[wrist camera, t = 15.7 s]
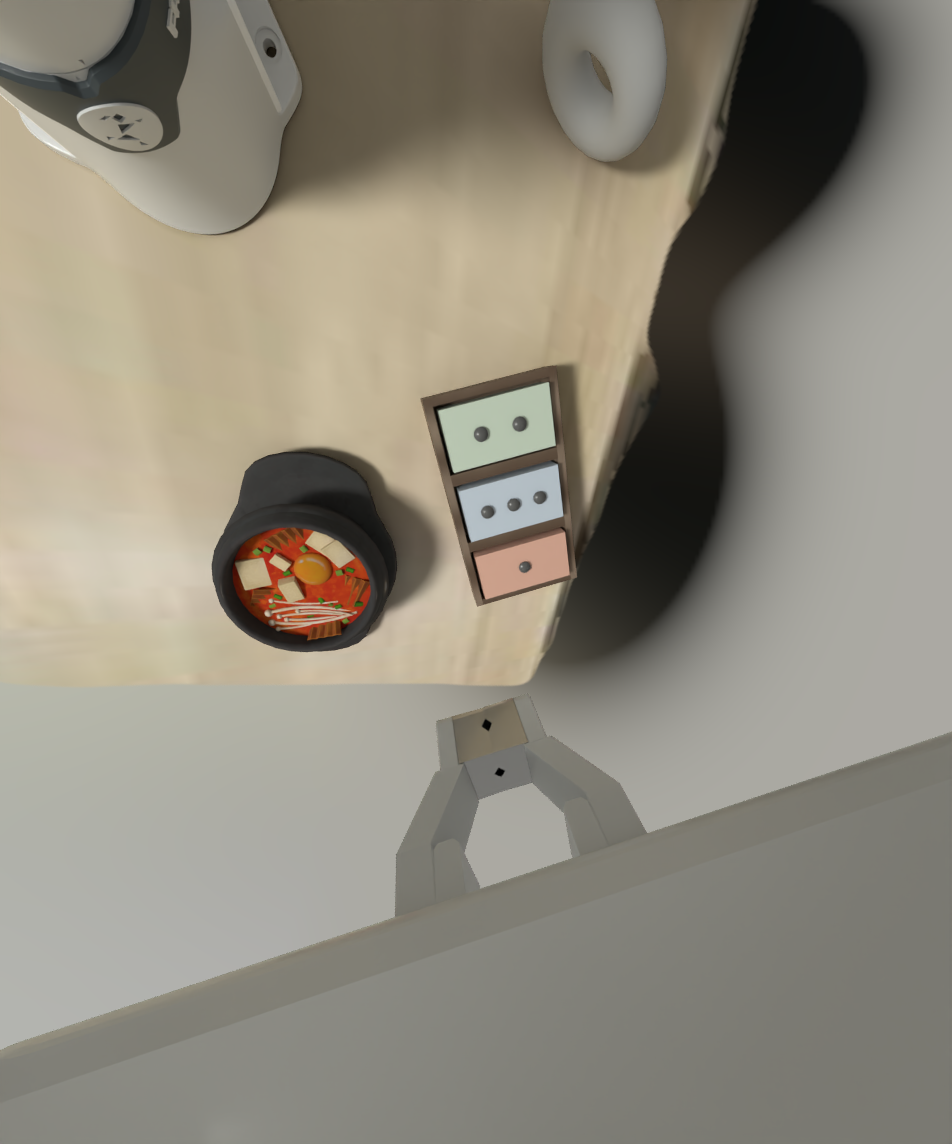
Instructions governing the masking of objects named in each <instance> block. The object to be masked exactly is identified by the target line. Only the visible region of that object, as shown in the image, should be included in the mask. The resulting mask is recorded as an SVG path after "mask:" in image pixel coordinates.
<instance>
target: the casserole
mask: <svg viewBox="0 0 952 1144" xmlns="http://www.w3.org/2000/svg"><path fill="white" fill-rule="evenodd" d="M396 571H397V561H396V552H395V549H394V546H393V542H392V540H391V538H390V536H389V534H388V532H387V530H386V529H385V527H384V525H383V523H382V521H381V520H380V518H379V516H378V514H377V512H376V509H375V506H374V502H373V499H372V496H371V493H370V491H369V488H368V485H367V482H366V481H365V480H364V479H363V478H362V476H361V475H360V474H359V473H358V472H357V471H356V470H354V469H353V468H351V467H350V466H348V465H346V464H345V463H343V462H341V461H338V460H335V459H333V458H330V457H327V456H324V455H319V454H314V453H309V452H283V453H278V454H272V455H268V456H266V457H263V458H261V459H259V460H257V461H255V462H254V463H253V464H252V465H251V466H250V467H249V468H248V469H247V470H246V471H245V474H244V478H243V482H242V486H241V490H240V496H239V501H238V504H237V506H236V508H235V510H234V512H233V514H232V516H231V518H230V520H229V522H228V524H227V526H226V528H225V530H224V534H223V535H222V536H221V538H220V540H219V542H218V544H217V546H216V548H215V550H214V555H213V561H212V576H213V582H214V585H215V588H216V593H217V596H218V599H219V602H220V604H221V606H222V608H223V609H224V611H225V612H226V614H227V616H228V617H229V618H230V619H231V620H232V621H233V622H234V624H235V625H236V626H237V627H238V628H240V629H241V630H242V631H244V632H245V633H246V634H248V635H249V636H251V637H252V638H254V639H256V640H258V641H260V642H262V643H264V644H267V645H269V646H272V647H275V648H278V649H283V650H288V651H297V652H313V651H332V650H338V649H342V648H347V647H350V646H352V645H354V644H357V643H359V642H360V641H361V640H362V639H363V638H364V637H366V635H367V633H368V631H369V628H370V626H371V624H372V623H374V622H375V620H376V619H377V617H378V616H379V614H380V613H381V612H382V610H383V607H384V605H385V602H386V600H387V597H388V596H389V594H390V592H391V590H392V587H393V585H394V582H395V578H396Z"/></svg>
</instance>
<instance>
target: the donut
mask: <svg viewBox="0 0 952 1144" xmlns="http://www.w3.org/2000/svg"><path fill="white" fill-rule="evenodd" d="M590 53H591V54H593V55H594V56H595V57H596V58H597V59H598V60H599V62H600V63H601V65H602V66H603V67H604V69H605V71H606V74H607V76H608V78H609V81H610V84H611V88H612V93H613V94H612V93H611V92H610V91H608V90H607V89H606V88H605V87H604V86H603V84H602V83H601V81H600V80H599V78H598V76H597V74H596V72H595V69H594V67H593V63H592V59H591V55H590ZM542 64H543V73H544V79H545V84H546V90H547V94H548V97H549V99H550V102H551V105H552V108H553V111H554V114H555V116H556V118H557V119H558V121H559V123H560V125H561V127H562V129H563V131H564V132H565V134H566V135H567V136H568V137H569V139H570V140H571V141H572V143H573V144H574V145H575V146H576V147H577V148H578V149H579V150H581V151H582V152H583V153H584V154H585V155H587V156H588V157H591V158H593V159H596V160H598V161H602V162H608V161H618V160H620V159H623V158H624V157H626V156H627V155H629V154H631V153H632V152H634V151H635V150H636V149H637V148H638V147H639V146H640V145H641V144H642V142H643V141H644V139H645V138H646V136H647V135H648V133H649V132H650V130H651V129H652V127H653V125H654V123H655V122H656V119H657V116H658V112H659V109H660V105H661V102H662V99H663V95H664V91H665V85H666V69H667V52H666V45H665V37H664V30H663V23H662V20H661V17H660V14H659V11H658V8H657V5H656V2H655V0H550V4H549V8H548V12H547V17H546V21H545V25H544V30H543V35H542Z"/></svg>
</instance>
